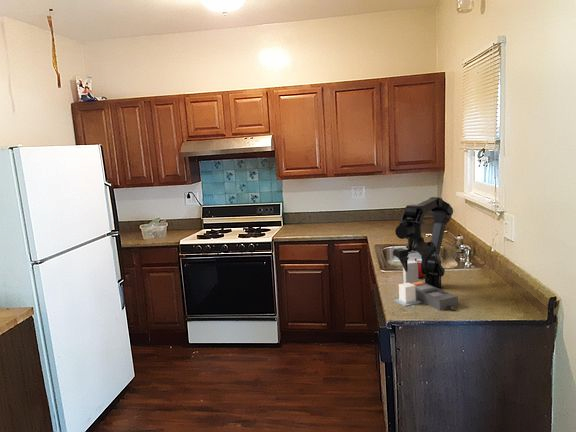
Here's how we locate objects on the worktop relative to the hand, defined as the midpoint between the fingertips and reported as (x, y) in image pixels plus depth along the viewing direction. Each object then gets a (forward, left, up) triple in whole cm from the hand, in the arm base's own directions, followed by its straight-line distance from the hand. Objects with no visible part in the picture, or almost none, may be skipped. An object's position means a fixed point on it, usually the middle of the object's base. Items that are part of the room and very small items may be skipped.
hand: (415, 269), depth 191 cm
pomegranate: (-18, -24, -12) cm, 32 cm away
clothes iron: (-91, -113, -12) cm, 146 cm away
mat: (+7, +4, -12) cm, 14 cm away
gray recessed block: (-3, +9, -12) cm, 15 cm away
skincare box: (-6, -12, -12) cm, 18 cm away
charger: (+7, +4, -12) cm, 14 cm away
